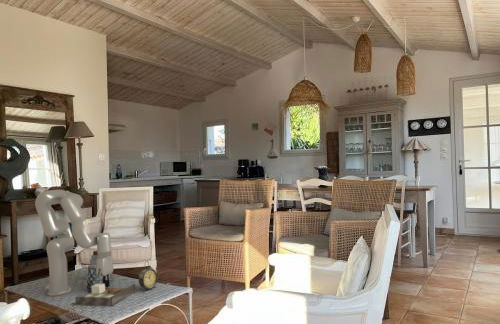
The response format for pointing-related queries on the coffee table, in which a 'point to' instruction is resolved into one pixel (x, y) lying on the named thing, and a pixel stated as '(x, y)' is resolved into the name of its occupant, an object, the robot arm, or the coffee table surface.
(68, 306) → the coffee table surface
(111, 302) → the box
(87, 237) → the robot arm
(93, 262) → the perfume bottle
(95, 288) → the block
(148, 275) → the alarm clock
